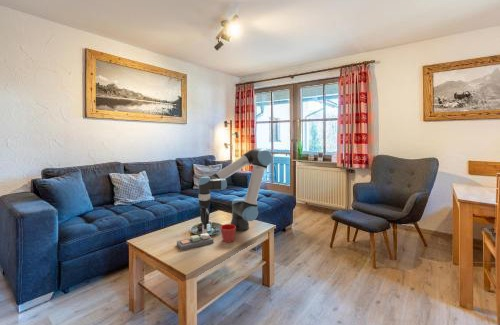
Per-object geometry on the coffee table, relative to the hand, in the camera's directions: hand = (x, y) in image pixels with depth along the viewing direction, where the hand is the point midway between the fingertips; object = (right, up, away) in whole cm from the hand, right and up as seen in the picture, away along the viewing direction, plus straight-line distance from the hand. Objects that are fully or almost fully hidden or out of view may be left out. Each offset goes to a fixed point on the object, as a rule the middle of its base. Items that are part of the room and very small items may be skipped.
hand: (204, 233), depth 176 cm
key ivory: (0, -3, 0) cm, 3 cm away
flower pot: (+16, -6, +4) cm, 17 cm away
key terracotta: (-12, -6, -7) cm, 15 cm away
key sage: (-6, -4, -3) cm, 8 cm away
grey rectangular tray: (-6, -6, -3) cm, 9 cm away
